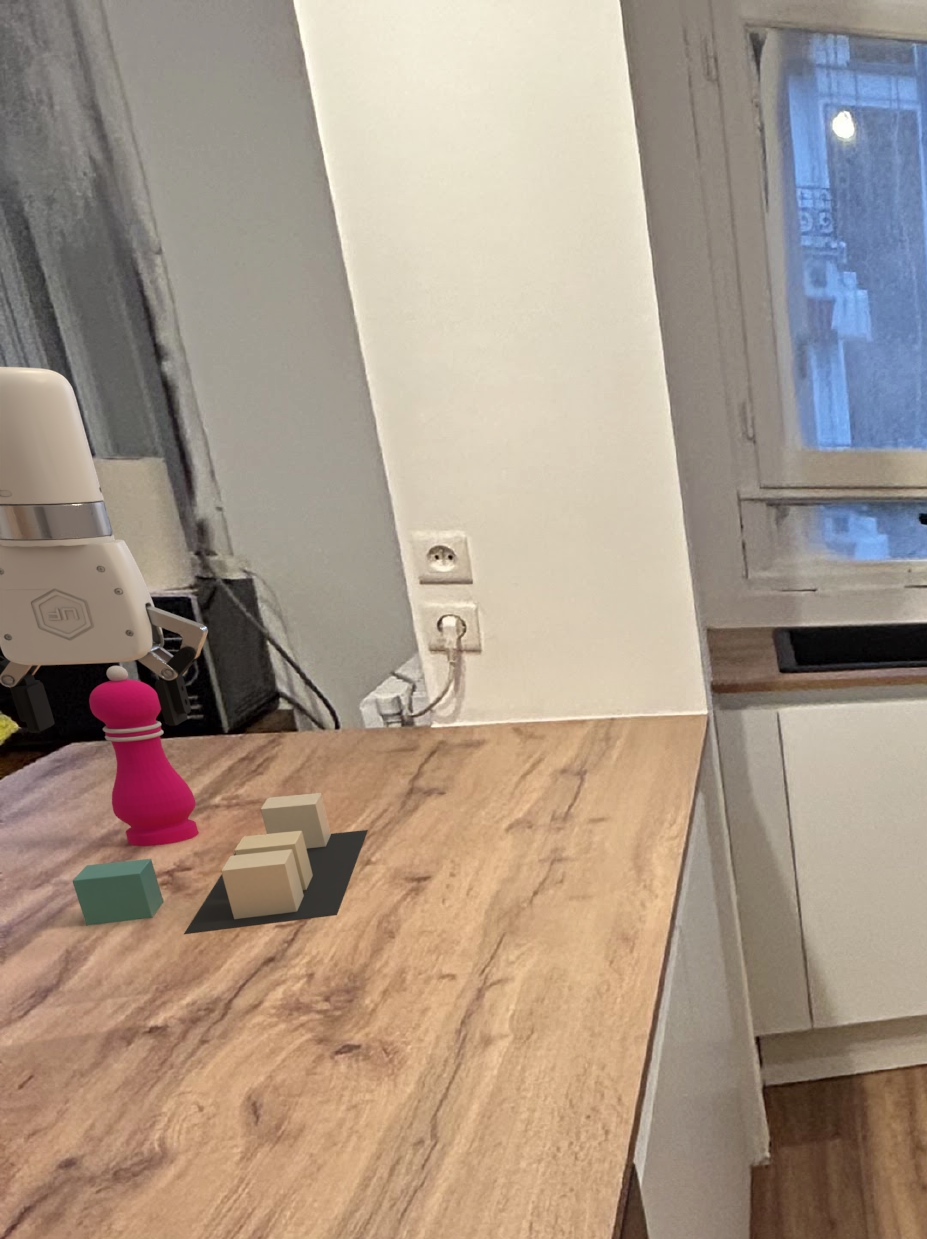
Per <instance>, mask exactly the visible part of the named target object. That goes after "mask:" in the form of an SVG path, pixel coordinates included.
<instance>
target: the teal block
mask: <svg viewBox="0 0 927 1239" xmlns="http://www.w3.org/2000/svg"><path fill="white" fill-rule="evenodd" d="M72 884H73V888H74V891H75V894H76V897H77V900H78V904H79V907H80V910H81V914H82V916H83V919H84V923H85V925H86V926H96V925H105V924H111V923H120V922H129V921H137V920H145V919H147V920H148V919H153V918H154V917H155V915H156V913H157V912H158V911H159V909H160V908H161V906H162V905H163V904H164V902H165V901H164V898H163V895H162V891H161V888H160V885H159V881H158V878H157V874H156V870H155V867H154V864H153V860H152V858H145V859H134V860H126V861H125V860H123V861H115V862H114V861H113V862H105V863H97V864H96V863H95V864H87V865H86V866H84V867H83V869H82V870H81V871H79V873H78V874H77V875H76V876H75V877H74V878H73V879H72Z"/></svg>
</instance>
